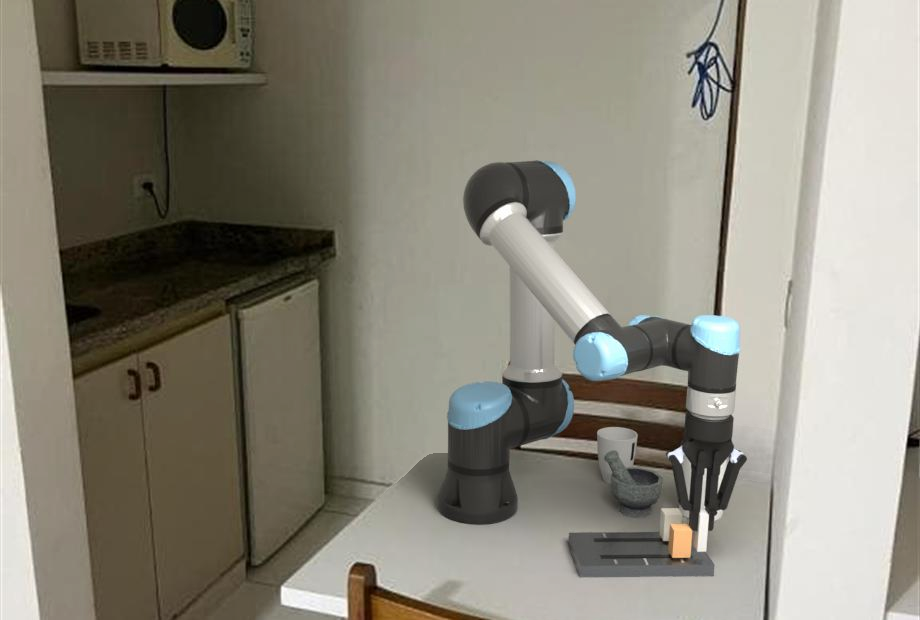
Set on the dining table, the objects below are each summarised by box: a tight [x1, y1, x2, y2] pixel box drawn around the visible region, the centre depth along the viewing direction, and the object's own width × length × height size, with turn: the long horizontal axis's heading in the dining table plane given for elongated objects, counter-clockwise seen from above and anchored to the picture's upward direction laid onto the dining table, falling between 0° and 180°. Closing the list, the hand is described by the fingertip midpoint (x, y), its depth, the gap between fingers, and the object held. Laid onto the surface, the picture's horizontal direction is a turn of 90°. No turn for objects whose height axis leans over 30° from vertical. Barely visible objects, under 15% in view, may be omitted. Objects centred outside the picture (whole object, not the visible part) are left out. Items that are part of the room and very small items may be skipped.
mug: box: [678, 454, 728, 522], centre depth 175 cm, size 8×12×12 cm
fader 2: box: [668, 523, 693, 558], centre depth 152 cm, size 3×3×5 cm
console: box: [568, 531, 715, 578], centre depth 156 cm, size 22×12×2 cm, turn 92°
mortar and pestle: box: [604, 451, 664, 519], centre depth 173 cm, size 11×9×12 cm
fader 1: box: [659, 507, 683, 541], centre depth 158 cm, size 3×3×5 cm
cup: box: [596, 426, 639, 484], centre depth 188 cm, size 8×8×10 cm
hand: (699, 547), depth 153 cm, fingers closed
